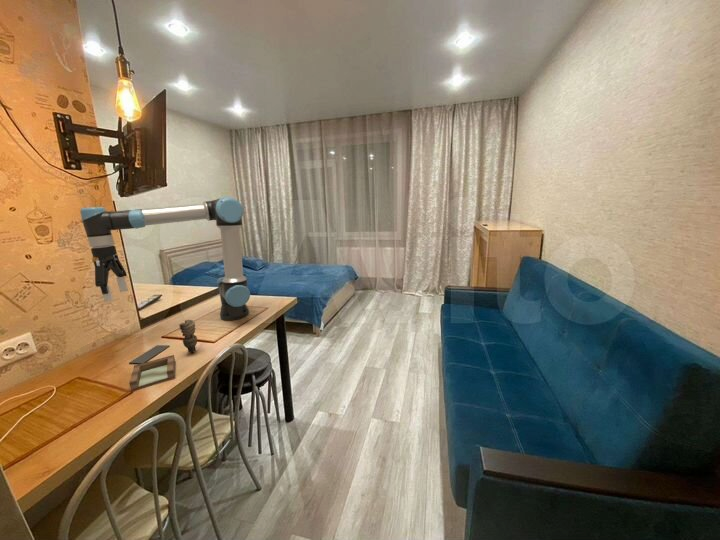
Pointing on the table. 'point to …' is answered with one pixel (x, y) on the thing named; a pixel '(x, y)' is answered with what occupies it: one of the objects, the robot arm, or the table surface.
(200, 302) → the table surface
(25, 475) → the table surface
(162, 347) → the smartphone
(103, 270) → the robot arm
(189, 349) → the stone figurine
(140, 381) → the brown picture frame
